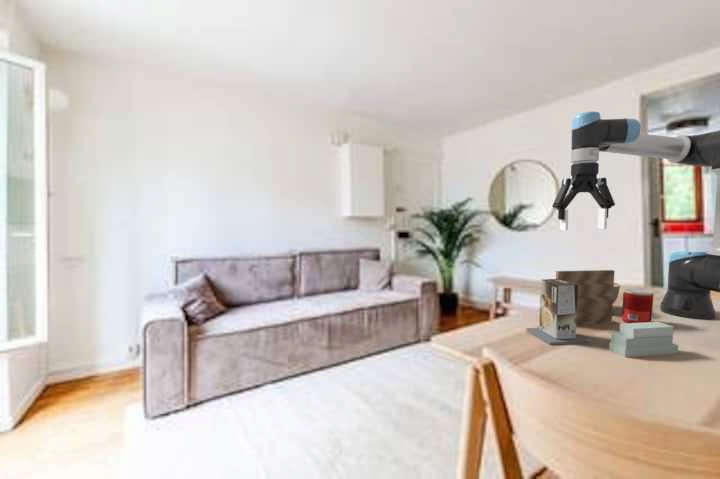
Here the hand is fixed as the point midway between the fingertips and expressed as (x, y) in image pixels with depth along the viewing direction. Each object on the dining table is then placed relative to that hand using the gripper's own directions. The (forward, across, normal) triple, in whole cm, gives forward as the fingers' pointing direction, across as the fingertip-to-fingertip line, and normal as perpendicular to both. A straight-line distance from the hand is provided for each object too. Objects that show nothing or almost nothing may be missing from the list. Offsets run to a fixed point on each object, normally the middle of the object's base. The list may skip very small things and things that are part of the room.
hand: (583, 229), depth 116 cm
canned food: (+33, +21, 0) cm, 39 cm away
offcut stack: (+32, 0, -22) cm, 39 cm away
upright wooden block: (+32, +2, +4) cm, 32 cm away
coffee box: (+31, -15, -9) cm, 36 cm away
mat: (+31, -15, -9) cm, 36 cm away
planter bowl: (+33, +18, +16) cm, 41 cm away
